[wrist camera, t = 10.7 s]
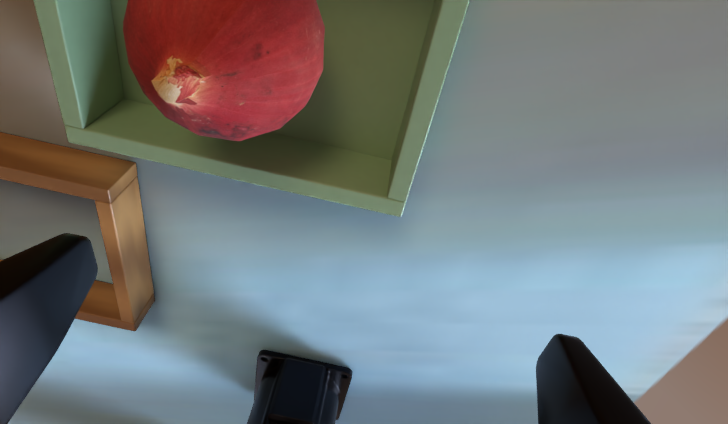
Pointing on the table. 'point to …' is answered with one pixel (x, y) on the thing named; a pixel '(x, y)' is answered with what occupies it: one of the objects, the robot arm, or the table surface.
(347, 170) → the green bin
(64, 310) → the robot arm
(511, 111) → the table surface
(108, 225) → the oak frame
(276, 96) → the onion
